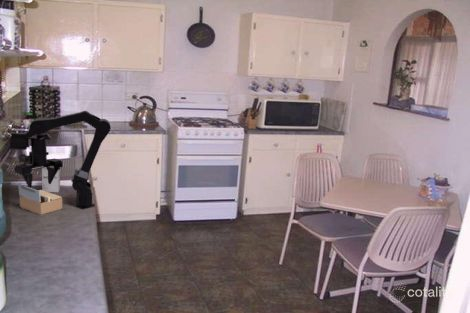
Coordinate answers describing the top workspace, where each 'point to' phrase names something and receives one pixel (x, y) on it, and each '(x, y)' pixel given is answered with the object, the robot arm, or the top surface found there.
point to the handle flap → (29, 193)
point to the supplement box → (55, 183)
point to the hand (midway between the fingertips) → (40, 186)
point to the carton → (42, 203)
